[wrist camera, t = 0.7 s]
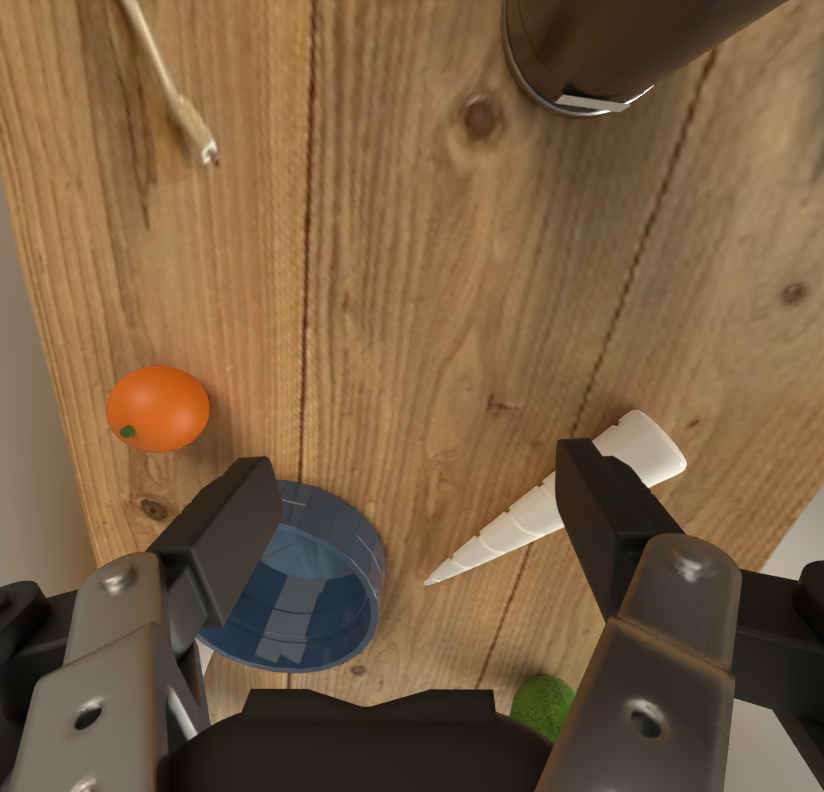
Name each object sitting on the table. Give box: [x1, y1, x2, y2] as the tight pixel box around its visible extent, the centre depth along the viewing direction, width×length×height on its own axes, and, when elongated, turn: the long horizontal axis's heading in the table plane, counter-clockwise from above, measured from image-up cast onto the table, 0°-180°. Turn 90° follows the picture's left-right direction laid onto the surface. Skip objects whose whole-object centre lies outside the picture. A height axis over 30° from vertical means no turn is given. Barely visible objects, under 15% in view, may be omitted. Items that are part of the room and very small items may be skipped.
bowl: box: [195, 480, 386, 673], centre depth 33 cm, size 17×17×6 cm
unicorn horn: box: [423, 410, 687, 585], centre depth 30 cm, size 5×24×5 cm, turn 134°
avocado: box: [510, 675, 576, 744], centre depth 36 cm, size 8×8×12 cm
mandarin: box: [106, 366, 210, 453], centre depth 27 cm, size 6×6×6 cm
